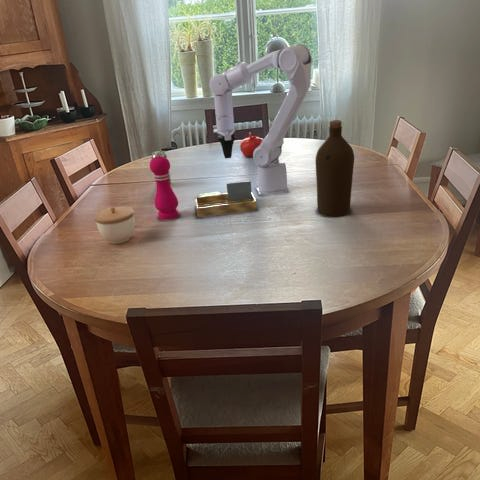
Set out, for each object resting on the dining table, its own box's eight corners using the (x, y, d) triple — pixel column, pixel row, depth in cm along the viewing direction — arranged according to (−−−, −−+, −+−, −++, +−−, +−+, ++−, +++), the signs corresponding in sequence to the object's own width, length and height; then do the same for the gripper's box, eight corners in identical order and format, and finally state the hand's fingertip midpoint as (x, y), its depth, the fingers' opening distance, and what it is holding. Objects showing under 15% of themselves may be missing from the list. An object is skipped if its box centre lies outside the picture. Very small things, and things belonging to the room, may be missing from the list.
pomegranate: (264, 157, 198) (263, 134, 193) (240, 159, 198) (238, 136, 193) (264, 151, 206) (262, 128, 201) (241, 153, 206) (239, 130, 201)
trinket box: (120, 249, 131) (112, 216, 126) (93, 243, 136) (84, 212, 131) (146, 234, 139) (139, 203, 134) (119, 229, 144) (112, 199, 139)
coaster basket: (252, 199, 156) (251, 190, 154) (256, 211, 147) (256, 201, 145) (196, 206, 155) (194, 197, 153) (197, 218, 146) (196, 208, 144)
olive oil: (355, 216, 137) (359, 123, 123) (317, 219, 137) (318, 127, 124) (348, 203, 146) (351, 115, 132) (313, 206, 146) (313, 119, 133)
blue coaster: (252, 203, 151) (250, 180, 147) (252, 204, 151) (250, 181, 147) (228, 206, 151) (226, 183, 147) (228, 207, 150) (226, 184, 146)
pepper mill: (184, 213, 151) (174, 147, 140) (174, 221, 145) (162, 154, 134) (163, 212, 153) (152, 147, 142) (153, 220, 147) (140, 154, 137)
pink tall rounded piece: (160, 189, 174) (154, 155, 167) (154, 186, 177) (148, 152, 171) (173, 185, 176) (168, 152, 169) (167, 182, 180) (161, 149, 173)
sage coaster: (220, 191, 163) (222, 198, 157) (220, 193, 164) (222, 200, 158) (198, 193, 163) (199, 201, 157) (198, 196, 163) (200, 203, 157)
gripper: (210, 112, 161) (214, 153, 168) (213, 120, 149) (217, 164, 156) (231, 110, 161) (234, 151, 169) (236, 118, 149) (239, 162, 157)
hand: (227, 157), depth 162 cm, fingers closed
